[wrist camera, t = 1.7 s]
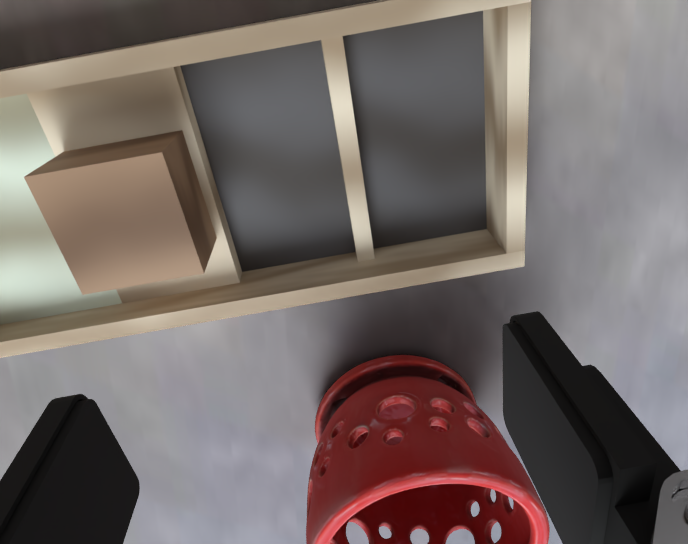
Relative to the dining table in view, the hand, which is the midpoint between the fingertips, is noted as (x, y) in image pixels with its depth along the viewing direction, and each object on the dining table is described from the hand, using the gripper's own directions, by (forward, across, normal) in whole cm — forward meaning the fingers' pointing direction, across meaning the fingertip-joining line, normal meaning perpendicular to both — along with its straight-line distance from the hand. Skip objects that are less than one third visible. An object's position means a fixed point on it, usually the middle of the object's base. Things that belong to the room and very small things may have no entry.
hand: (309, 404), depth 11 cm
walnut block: (+17, +8, 0) cm, 19 cm away
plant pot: (+19, -3, +19) cm, 27 cm away
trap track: (+19, +5, 0) cm, 19 cm away
